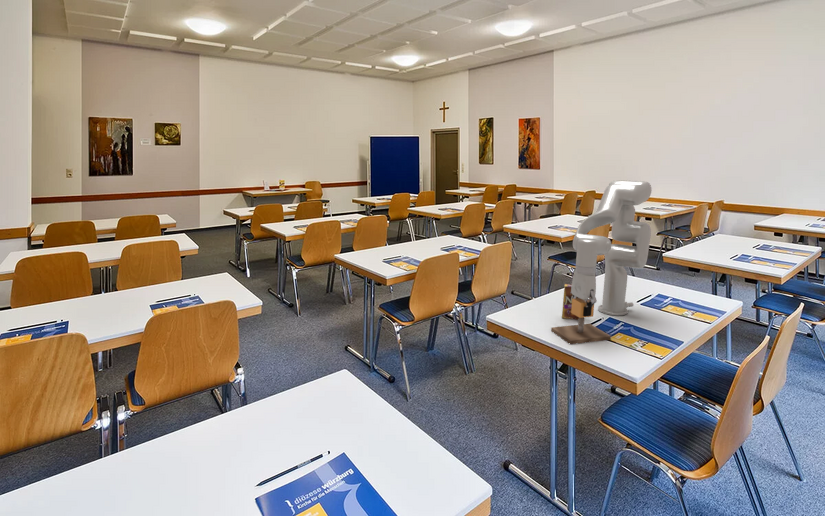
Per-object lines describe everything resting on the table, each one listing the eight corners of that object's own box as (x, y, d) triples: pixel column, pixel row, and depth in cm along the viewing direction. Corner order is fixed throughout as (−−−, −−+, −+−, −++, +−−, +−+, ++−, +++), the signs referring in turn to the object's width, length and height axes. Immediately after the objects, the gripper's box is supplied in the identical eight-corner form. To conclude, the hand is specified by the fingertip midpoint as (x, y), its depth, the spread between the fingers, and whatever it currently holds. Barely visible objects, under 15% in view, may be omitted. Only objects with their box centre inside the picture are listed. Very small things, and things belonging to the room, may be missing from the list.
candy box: (561, 318, 204) (564, 285, 201) (561, 315, 208) (564, 283, 205) (583, 320, 202) (585, 287, 198) (582, 317, 206) (585, 284, 202)
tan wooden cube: (571, 312, 186) (572, 298, 185) (584, 311, 188) (585, 297, 186) (579, 317, 181) (580, 303, 179) (593, 316, 182) (594, 302, 181)
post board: (589, 326, 195) (590, 310, 193) (610, 339, 182) (612, 321, 180) (551, 330, 191) (552, 313, 189) (570, 344, 177) (571, 326, 176)
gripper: (564, 265, 187) (561, 307, 191) (590, 275, 171) (586, 321, 175) (581, 263, 189) (577, 305, 193) (608, 274, 173) (603, 319, 177)
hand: (582, 312), depth 184 cm, fingers closed on tan wooden cube, 5 cm apart
